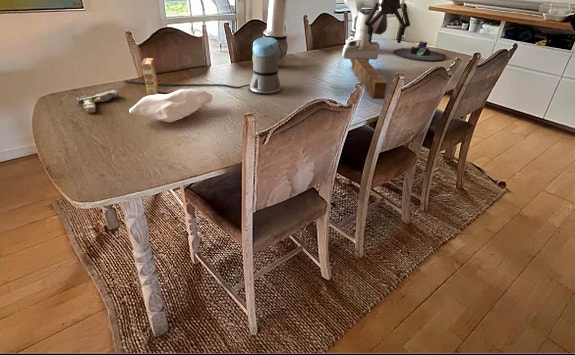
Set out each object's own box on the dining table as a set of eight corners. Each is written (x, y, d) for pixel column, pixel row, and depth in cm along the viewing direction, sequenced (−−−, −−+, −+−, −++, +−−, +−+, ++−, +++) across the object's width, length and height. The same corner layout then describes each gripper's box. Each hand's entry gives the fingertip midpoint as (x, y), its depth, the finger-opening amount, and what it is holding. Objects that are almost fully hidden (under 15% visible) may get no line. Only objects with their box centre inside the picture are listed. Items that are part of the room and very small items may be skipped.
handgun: (128, 97, 156) (111, 87, 164) (86, 107, 144) (70, 97, 152) (129, 103, 157) (113, 94, 165) (88, 114, 146) (72, 103, 154)
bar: (384, 98, 174) (387, 82, 170) (372, 98, 174) (375, 82, 169) (360, 68, 217) (361, 54, 212) (350, 67, 216) (352, 54, 212)
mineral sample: (456, 57, 245) (459, 42, 241) (423, 63, 228) (426, 48, 224) (414, 49, 270) (416, 36, 266) (381, 54, 253) (383, 40, 248)
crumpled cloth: (117, 110, 146) (113, 90, 140) (195, 92, 166) (194, 73, 160) (143, 139, 134) (140, 118, 128) (223, 116, 154) (224, 96, 148)
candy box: (157, 97, 164) (152, 63, 155) (147, 98, 163) (141, 63, 155) (158, 91, 171) (153, 57, 163) (149, 91, 170) (143, 58, 162)
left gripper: (418, -10, 159) (407, 41, 170) (361, -12, 157) (355, 39, 168) (424, -8, 152) (413, 44, 164) (366, -10, 150) (359, 43, 162)
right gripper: (378, 40, 206) (374, 65, 213) (343, 39, 204) (340, 64, 212) (381, 43, 200) (377, 68, 208) (345, 42, 199) (342, 67, 206)
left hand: (384, 42), depth 166 cm, fingers open, 13 cm apart
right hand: (358, 66), depth 210 cm, fingers closed on bar, 5 cm apart
